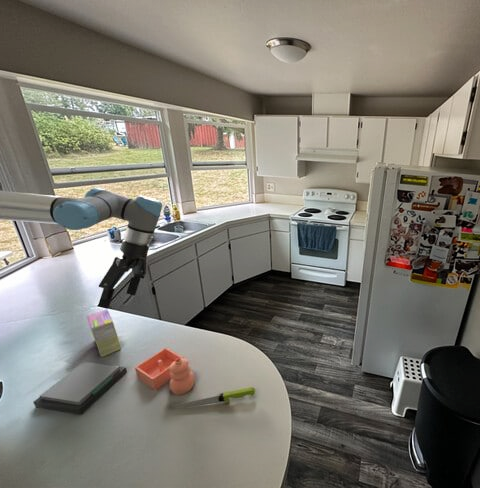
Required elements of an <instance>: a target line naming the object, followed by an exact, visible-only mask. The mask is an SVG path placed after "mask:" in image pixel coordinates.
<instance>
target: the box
mask: <svg viewBox="0 0 480 488" xmlns="http://www.w3.org/2000/svg"><path fill="white" fill-rule="evenodd" d="M86 318H87V322H88V325H89V328H90V331H91V334H92V336H93V339H94V341H95V344H96V347H97V350H98V353H99V356H100V358H103V357H105V356H108V355H110V354H113V353H115V352H118V351H120V350H122V346H121V343H120V340H119V336H118V333H117V330H116V328H115V323H114V321H113V318H112V316H111V314H110V312H109V309H108V308H107V309H106V308H105V309H103V310H99V311H97V312H94V313H91V314H88V315H86Z"/></svg>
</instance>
